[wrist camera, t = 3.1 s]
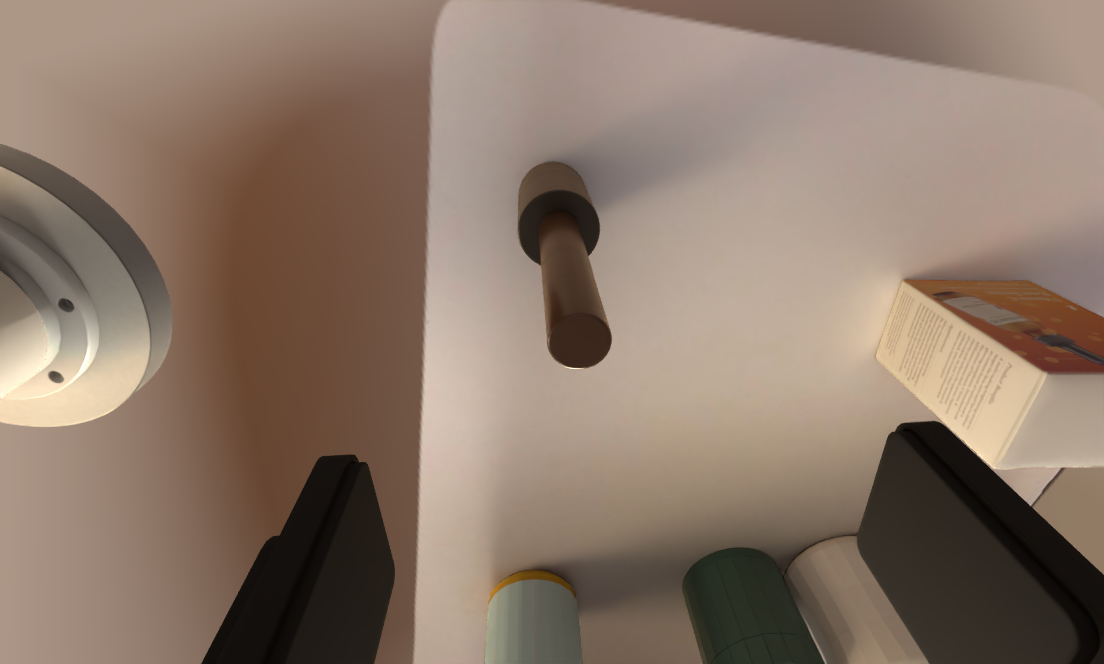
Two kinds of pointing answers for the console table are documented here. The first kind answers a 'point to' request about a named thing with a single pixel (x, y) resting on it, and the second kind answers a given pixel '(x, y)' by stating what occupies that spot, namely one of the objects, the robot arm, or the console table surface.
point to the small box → (1003, 368)
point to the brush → (564, 262)
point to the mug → (848, 607)
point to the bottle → (533, 621)
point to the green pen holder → (745, 611)
